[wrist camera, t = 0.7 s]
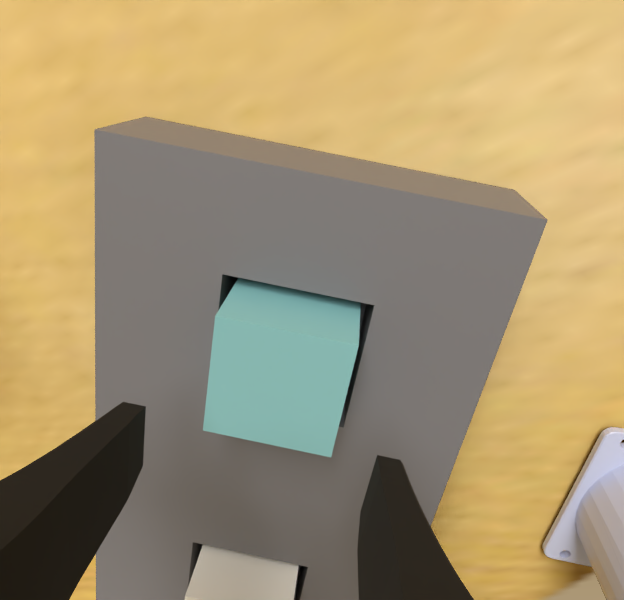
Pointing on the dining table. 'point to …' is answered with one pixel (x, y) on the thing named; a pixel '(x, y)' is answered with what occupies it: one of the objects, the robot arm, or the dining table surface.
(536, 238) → the panel
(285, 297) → the teal key
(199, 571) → the white key
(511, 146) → the dining table surface
